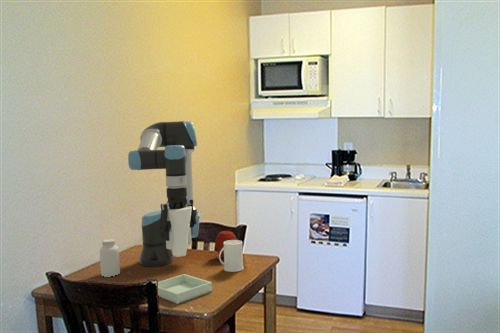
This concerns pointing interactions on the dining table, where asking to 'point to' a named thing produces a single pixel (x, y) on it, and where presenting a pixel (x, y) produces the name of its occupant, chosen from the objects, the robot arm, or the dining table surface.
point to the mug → (232, 256)
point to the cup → (179, 229)
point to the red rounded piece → (223, 240)
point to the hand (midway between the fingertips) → (179, 246)
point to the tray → (183, 288)
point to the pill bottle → (109, 258)
